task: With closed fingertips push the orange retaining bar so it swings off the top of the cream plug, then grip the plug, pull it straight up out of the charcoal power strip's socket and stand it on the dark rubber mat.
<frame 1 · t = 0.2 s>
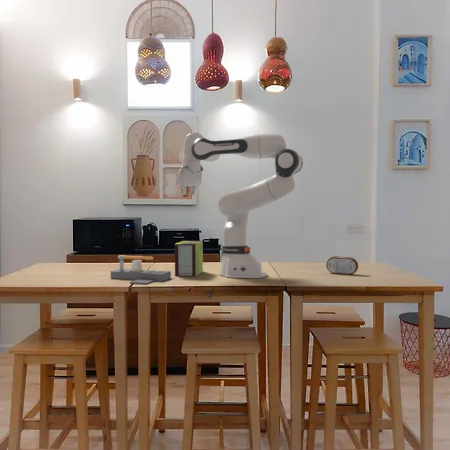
hand: (188, 194, 214), 39 cm above the table, tool pointing down, fingers open, 8 cm apart
mat: (142, 282, 189), on the table
tin: (341, 274, 212), on the table
power strip: (140, 278, 199), on the table
clip: (135, 257, 200), point 9 cm above the table, hinge at 0.0°
plug: (136, 278, 200), resting in power strip
protein box: (189, 274, 212), on the table
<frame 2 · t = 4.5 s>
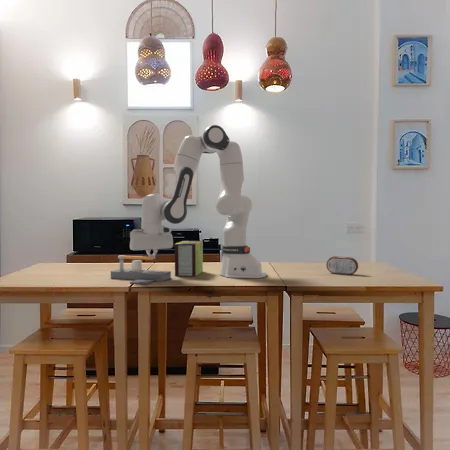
hand: (151, 259, 200), 9 cm above the table, tool pointing down, fingers closed
clip: (135, 257, 200), point 9 cm above the table, hinge at 0.0°, touching gripper
everything else where it was.
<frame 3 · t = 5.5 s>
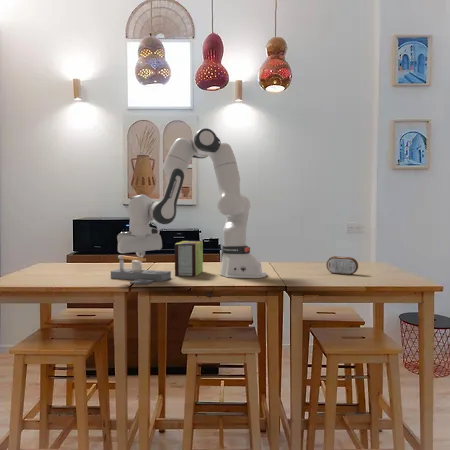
hand: (140, 261, 196), 8 cm above the table, tool pointing down, fingers closed, pressing on clip
clip: (131, 258, 198), point 9 cm above the table, hinge at 19.4°, touching gripper
everything else where it was.
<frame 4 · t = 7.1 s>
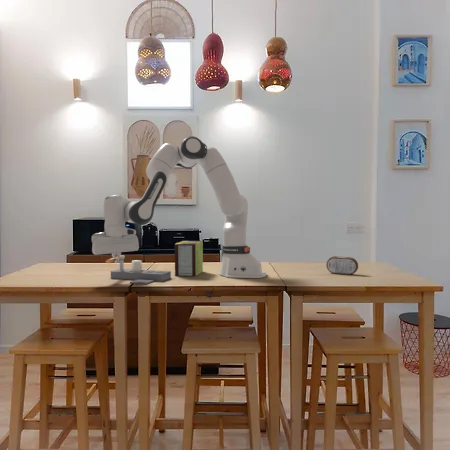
hand: (116, 262, 192), 8 cm above the table, tool pointing down, fingers closed, pressing on clip
clip: (115, 259, 195), point 9 cm above the table, hinge at 79.8°, touching gripper
everything else where it was.
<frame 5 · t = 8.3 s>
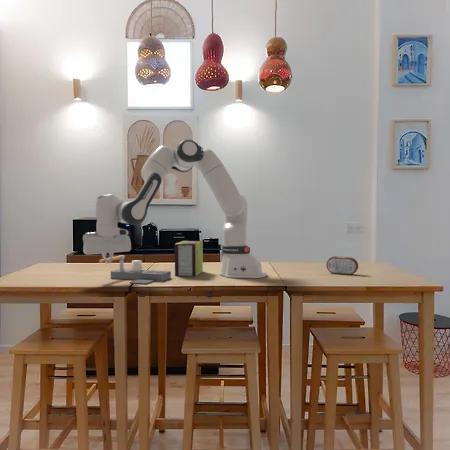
hand: (108, 263, 189), 8 cm above the table, tool pointing down, fingers closed
clip: (112, 258, 195), point 9 cm above the table, hinge at 91.6°, touching gripper
everything else where it was.
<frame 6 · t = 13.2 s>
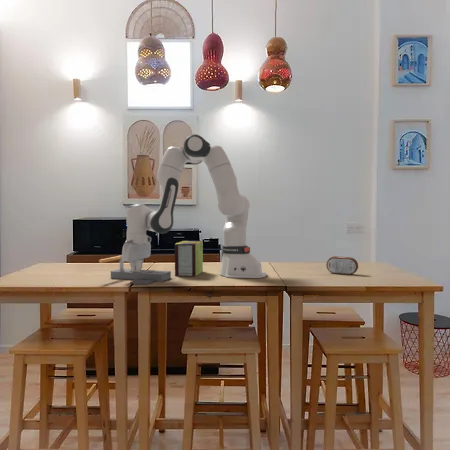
hand: (136, 269, 200), 4 cm above the table, tool pointing down, fingers closed on plug, 4 cm apart
clip: (112, 258, 195), point 9 cm above the table, hinge at 91.8°
plug: (136, 278, 200), resting in power strip, touching gripper
everything else where it was.
when the fingers open (6 cm above the table, at t = 18.0 s): plug stays where it is, resting on mat.
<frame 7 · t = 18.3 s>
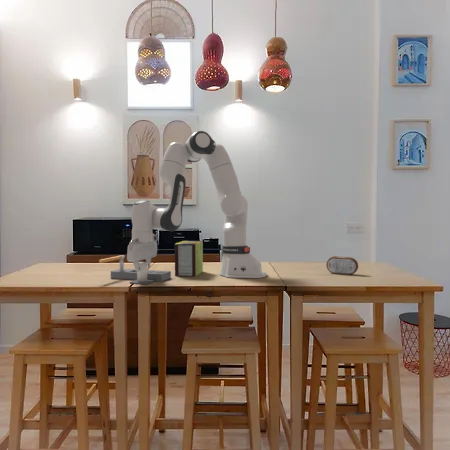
hand: (142, 269, 189), 6 cm above the table, tool pointing down, fingers open, 7 cm apart
plug: (142, 280, 189), point 1 cm above the table, touching mat
everything else where it was.
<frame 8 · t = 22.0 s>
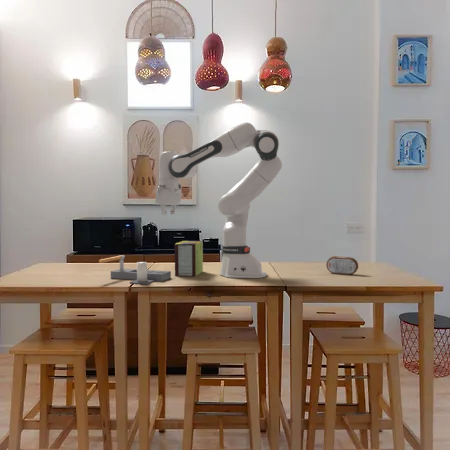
hand: (168, 214, 208), 29 cm above the table, tool pointing down, fingers open, 8 cm apart
nothing on the table moved.
at the end: clip at +92° (first picture: +0°); plug inside the target area (0.2 cm from its centre), point 0.7 cm above the table; plug tilted 2° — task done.
